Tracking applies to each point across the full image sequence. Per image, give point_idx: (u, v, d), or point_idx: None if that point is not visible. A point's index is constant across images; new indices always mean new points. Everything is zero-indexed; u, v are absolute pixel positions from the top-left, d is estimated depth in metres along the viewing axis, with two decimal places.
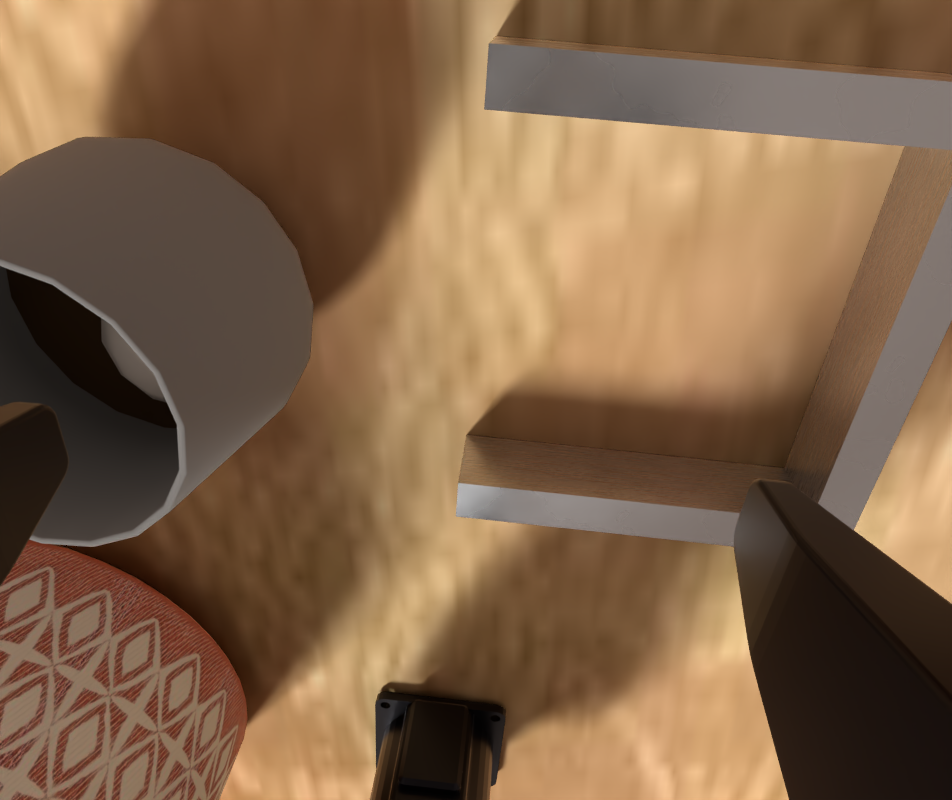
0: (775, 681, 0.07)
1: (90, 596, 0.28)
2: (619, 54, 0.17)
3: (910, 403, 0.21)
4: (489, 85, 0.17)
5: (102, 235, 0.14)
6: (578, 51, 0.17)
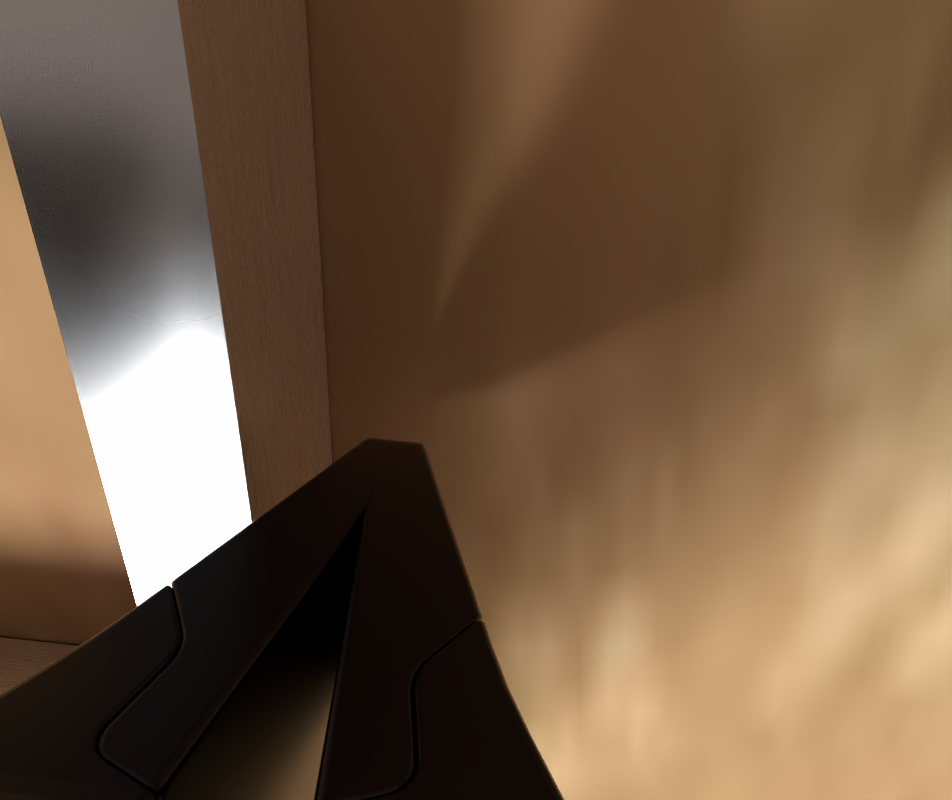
0: None
1: None
2: None
3: None
4: None
5: None
6: None
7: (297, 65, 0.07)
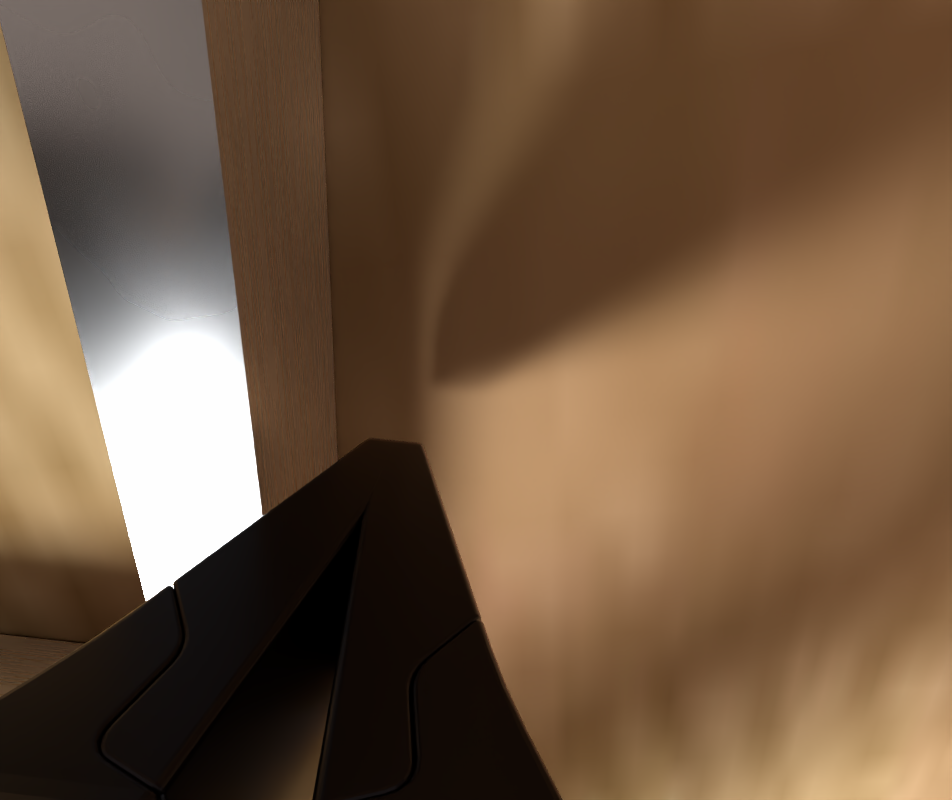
0: None
1: None
2: None
3: None
4: None
5: None
6: None
7: (309, 65, 0.07)
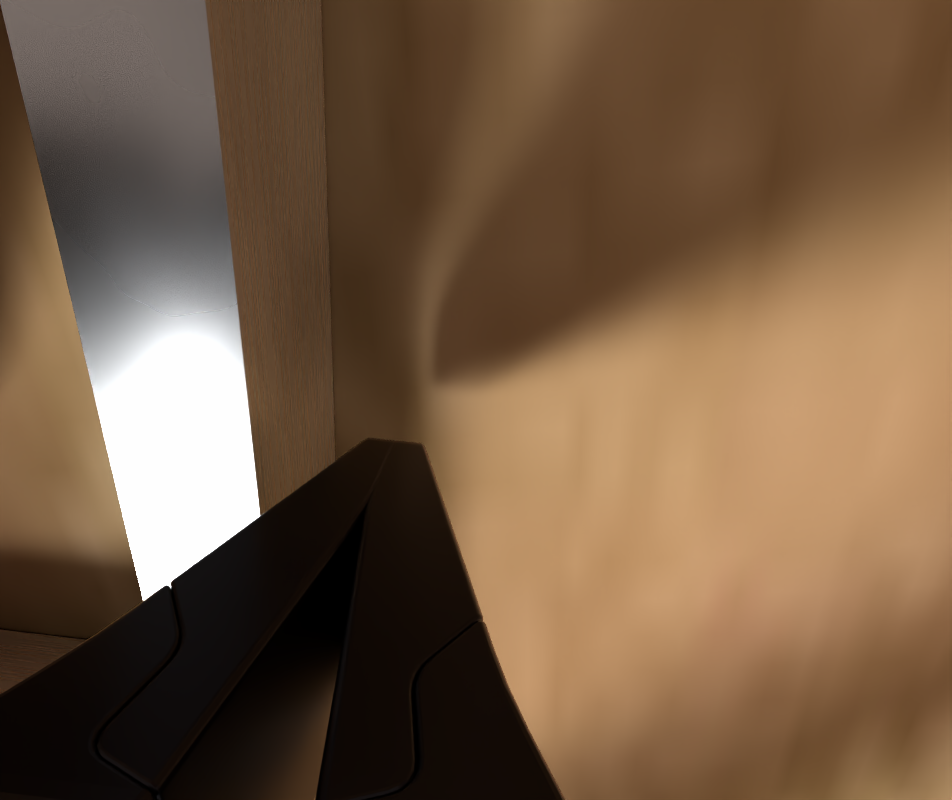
0: None
1: None
2: None
3: None
4: None
5: None
6: None
7: (311, 61, 0.07)
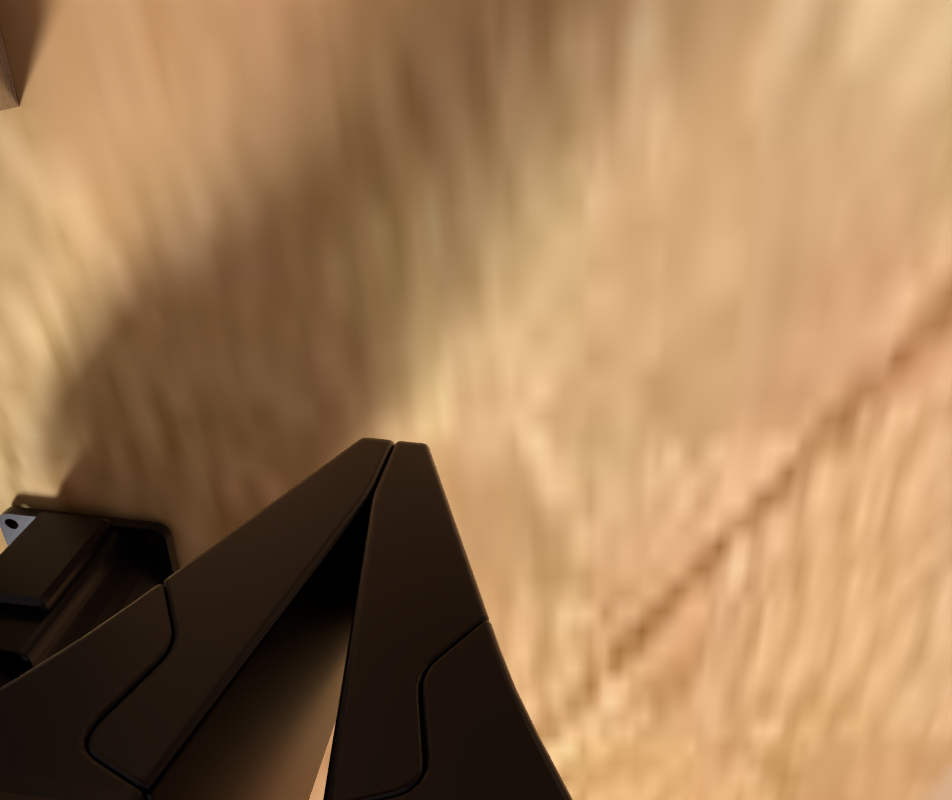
0: None
1: None
2: None
3: None
4: None
5: None
6: None
7: None
